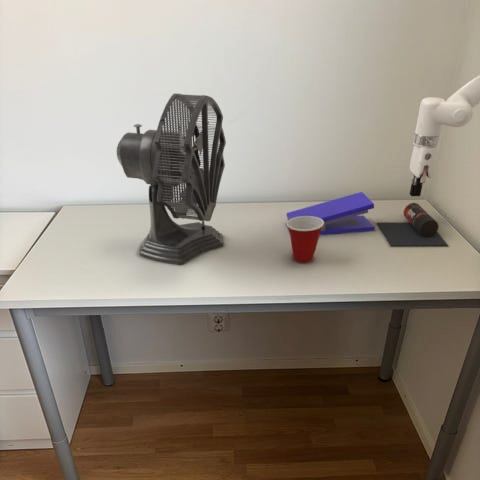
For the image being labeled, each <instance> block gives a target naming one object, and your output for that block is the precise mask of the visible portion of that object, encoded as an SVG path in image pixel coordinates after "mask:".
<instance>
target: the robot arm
mask: <svg viewBox="0 0 480 480" xmlns="http://www.w3.org/2000/svg"><path fill="white" fill-rule="evenodd" d="M479 102H480V74H479V75H478V76H476V77H475V78H473V79H471V80H470V81H468V82H467V83H465V84H464V85H463V86H461V87H460V88H459V89H458V90H456V91H455V92H454V93H453V94H452V95H450V96H449V97H448V98H447V99H446V100H445V99H443V98H441V97H434V96H429V97H424V98H423V99H422V100H421V101H420V105H419V110H418V115H417V119H416V120H417V121H416V126H415V131H414V136H413V142H412V145H413V149H412V153H411V157H410V162H409V171H410V172H411V174H412V176H411V184H410V188H409V189H410V191H409V195H410V196H411V197H421V194H422V189H423V186H424V184H426V183H427V182H426V180H427V178H428V179H431V178H433V173H434V168H435V162H436V154H437V153H436V152H437V147H438V145H439V141H440V135H441V131H442V126H447V127H453V128H461V127H464V126H466V125H468V124H469V123H470V122H471V120H472V118H473V113H474V112H473V108H475V107H476V106H477V105H479V104H480V103H479Z"/></svg>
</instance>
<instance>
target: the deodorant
mask: <svg viewBox="0 0 480 480" xmlns="http://www.w3.org/2000/svg"><path fill="white" fill-rule="evenodd" d="M403 216H404V218H405V219H406V220H407V222H410V223H411V224H412V225H413V226H414V227H415V228H416V229H417V230H418V231H419V232H420V234H421V235H422V236H424V237H431V236H433V235H434V234H436V232H438V231H439V227H440V226H439V223H438V222H437V220H435V219H434V217H432V216H431V215H430V214H429V213H428V212H427V211H426V210H425V209H424V208H423V207H422V206H421V205H420V204H419V203H418V202H411V203H409V204H407V205H406V206H405V207H404V209H403Z"/></svg>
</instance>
